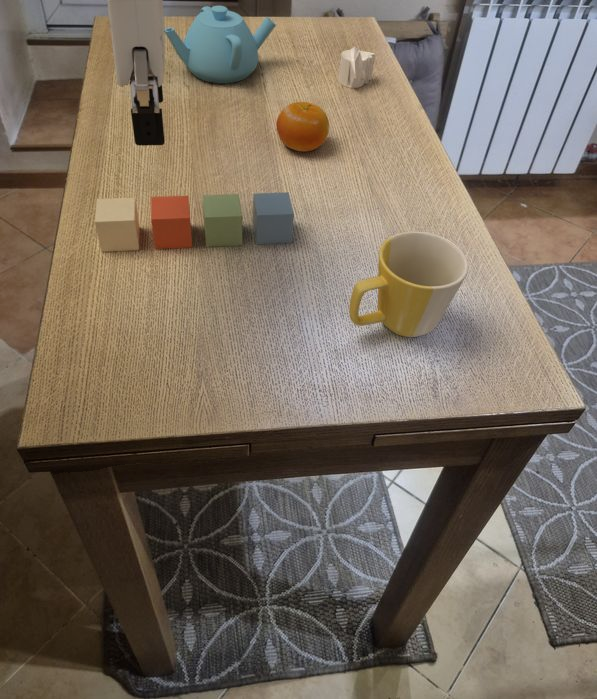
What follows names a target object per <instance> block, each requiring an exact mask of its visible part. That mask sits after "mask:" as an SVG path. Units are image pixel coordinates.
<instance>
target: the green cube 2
mask: <svg viewBox="0 0 597 699" xmlns="http://www.w3.org/2000/svg"><path fill="white" fill-rule="evenodd" d="M201 199H202V213H203V214H202V215H203V229H204V238H205V240H204V241H205V247H207V248H212V247H231V246H243V214H242V213H243V211H242V205H241V200H240V199H241V198H240V194H239V193H232V194H231V193H230V194H229V193H227V194H203V195H202V198H201Z"/></svg>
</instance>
